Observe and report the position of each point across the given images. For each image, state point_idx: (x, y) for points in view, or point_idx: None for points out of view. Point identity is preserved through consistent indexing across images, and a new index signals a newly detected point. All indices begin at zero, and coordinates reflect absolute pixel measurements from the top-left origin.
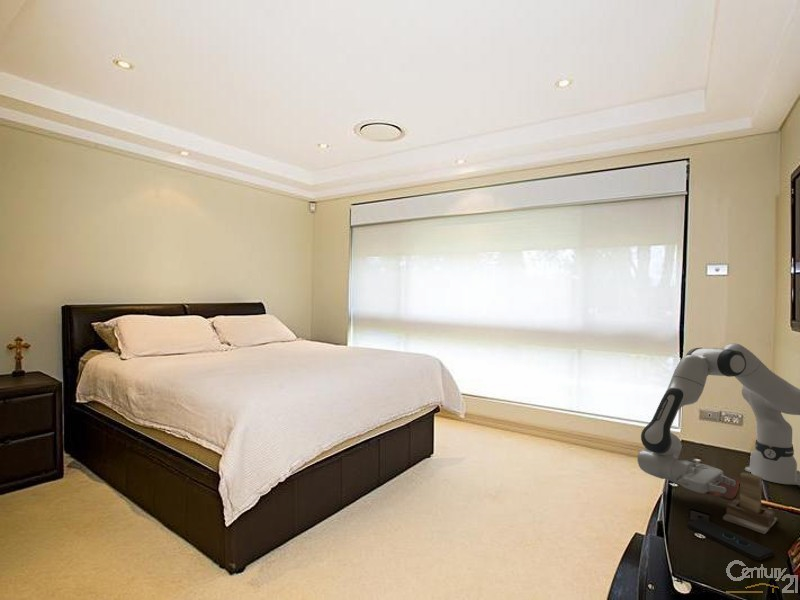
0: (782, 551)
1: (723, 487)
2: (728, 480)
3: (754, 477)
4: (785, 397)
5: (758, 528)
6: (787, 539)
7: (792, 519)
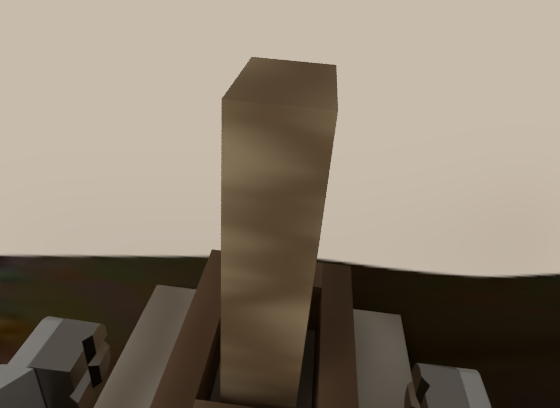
0: (496, 279)
1: (457, 377)
2: (75, 372)
3: (320, 73)
4: None
5: (399, 336)
6: (355, 269)
7: (92, 257)
